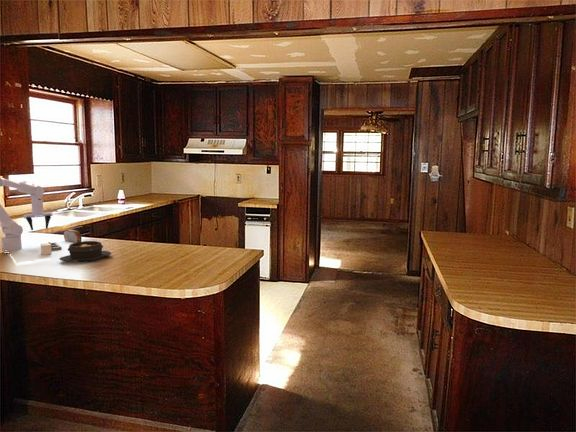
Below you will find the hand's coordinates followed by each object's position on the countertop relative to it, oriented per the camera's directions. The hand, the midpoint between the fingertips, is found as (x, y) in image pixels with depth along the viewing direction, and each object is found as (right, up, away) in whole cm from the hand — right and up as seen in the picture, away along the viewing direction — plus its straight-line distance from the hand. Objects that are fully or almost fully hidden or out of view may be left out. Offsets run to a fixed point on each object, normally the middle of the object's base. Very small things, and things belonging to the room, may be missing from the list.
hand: (39, 229), depth 256 cm
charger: (+16, -14, -22) cm, 31 cm away
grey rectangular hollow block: (+12, -12, -9) cm, 19 cm away
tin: (+14, -9, +11) cm, 20 cm away
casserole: (+41, -15, -28) cm, 52 cm away
